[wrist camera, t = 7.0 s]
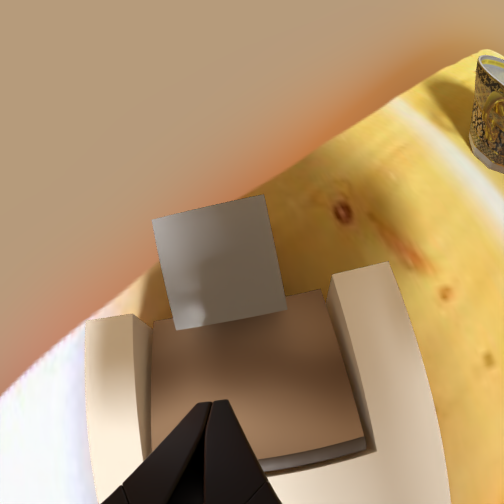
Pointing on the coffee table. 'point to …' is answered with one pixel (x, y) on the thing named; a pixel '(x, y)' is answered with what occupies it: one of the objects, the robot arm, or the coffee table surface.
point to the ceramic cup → (488, 113)
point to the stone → (219, 263)
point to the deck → (361, 381)
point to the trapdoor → (262, 382)
